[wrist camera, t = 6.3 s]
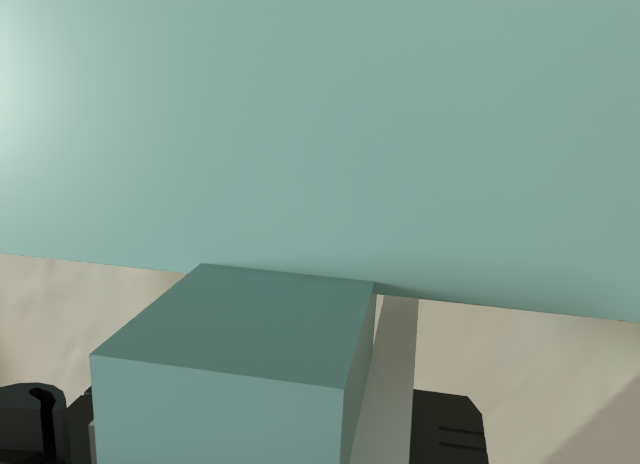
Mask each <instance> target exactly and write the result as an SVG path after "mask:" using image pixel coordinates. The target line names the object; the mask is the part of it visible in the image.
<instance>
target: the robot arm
mask: <svg viewBox="0 0 640 464" xmlns="http://www.w3.org/2000/svg"><path fill="white" fill-rule="evenodd" d="M418 302H419V299H417V298H408V297H399V296H390V295H384V299H383V304H382V308H381V313H380V318H379V322H378V327H377V332H376V336H375V341H374V345H373V350H372V358H371V363H370V367H369V372H368V377H367V381H366V386H365V391H364V395H363V400H362V405H361V409H360V414H359V419H358V423H357V428H356V433H355V437H354V442H353V447H352V451H351V456H350V461H349V464H489V462H488V455H487V453H486V452H487V448H486V441H485V437H484V427H483V420H482V414H481V413H480V411H479V410H478V409H477V408H476V406H475V405H474V404H473V403H472V401H471V400H470V399H469V398H468V396H461V395H453V394H446V393H438V392H431V391H423V390H416V389H413V385H414V368H415V352H416V335H417V319H418ZM0 464H97V455H96V441H95V427H94V413H93V399H92V386H91V387H89V388H88V389H87V390H86V391H85V392H84V396H83V395H81V396H80V397H79V398H77V399H76V400H75V401H74V402H73V403H72V404H71V405H70V406H69V407H68V408H67V406H66V399H65V396H64V393H63V391H61V390H60V389H58V388H57V387H55V386H53V385H49V384H43V383H18V384H13V385H9V386H4V387H0Z"/></svg>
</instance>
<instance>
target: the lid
mask: <svg viewBox="0 0 640 464" xmlns="http://www.w3.org/2000/svg"><path fill="white" fill-rule="evenodd" d="M0 253H5V254H14V255H23V256H32V257H41V258H51V259H60V260H69V261H78V262H87V263H96V264H106V265H115V266H124V267H133V268H142V269H151V270H161V271H170V272H179V273H188V274H187V275H186V276H185V277H183V278H182V279H181V280H180V281H178V282H177V283H176V284H175V285H174V286H172V287H171V288H170V289H169V290H167V291H166V292H165V293H164V294H163V295H161V296H160V297H159V298H158V299H156V300H155V301H154V302H153V303H152V304H150V305H149V306H148V307H147V308H145V309H144V310H143V311H142V312H141V313H139V314H138V315H137V316H136V317H134V318H133V319H132V320H131V321H130V322H128V323H127V324H126V325H125V326H123V327H122V328H121V329H120V330H119V331H117V332H116V333H115V334H114V335H112V336H111V337H110V338H109V339H108V340H106V341H105V342H104V343H103V344H101V345H100V346H99V347H98V348H97V349H95V350H94V351H93V352H92V353H90V354H89V356H90V371H91V385H92V399H93V413H94V427H95V441H96V455H97V464H349V461H350V456H351V451H352V447H353V442H354V437H355V433H356V428H357V423H358V419H359V414H360V409H361V405H362V400H363V395H364V391H365V386H366V381H367V377H368V372H369V367H370V363H371V358H372V350H373V336H374V323H375V310H376V297H377V294H381V295H390V296H399V297H408V298H417V299H426V300H436V301H445V302H454V303H463V304H472V305H481V306H491V307H500V308H509V309H518V310H527V311H536V312H546V313H555V314H564V315H573V316H582V317H591V318H601V319H610V320H619V321H628V322H637V323H640V0H0Z"/></svg>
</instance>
